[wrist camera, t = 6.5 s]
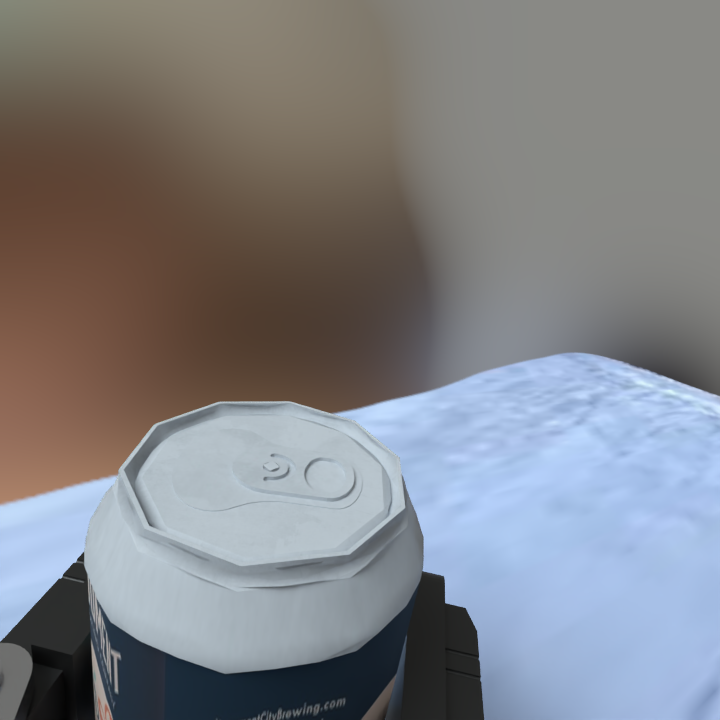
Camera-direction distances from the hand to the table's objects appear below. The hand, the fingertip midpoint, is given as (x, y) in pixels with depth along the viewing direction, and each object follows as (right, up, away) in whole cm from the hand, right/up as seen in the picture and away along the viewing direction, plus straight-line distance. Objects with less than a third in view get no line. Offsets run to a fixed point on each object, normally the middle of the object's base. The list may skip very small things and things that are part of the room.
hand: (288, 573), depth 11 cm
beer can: (-2, -8, 0) cm, 8 cm away
